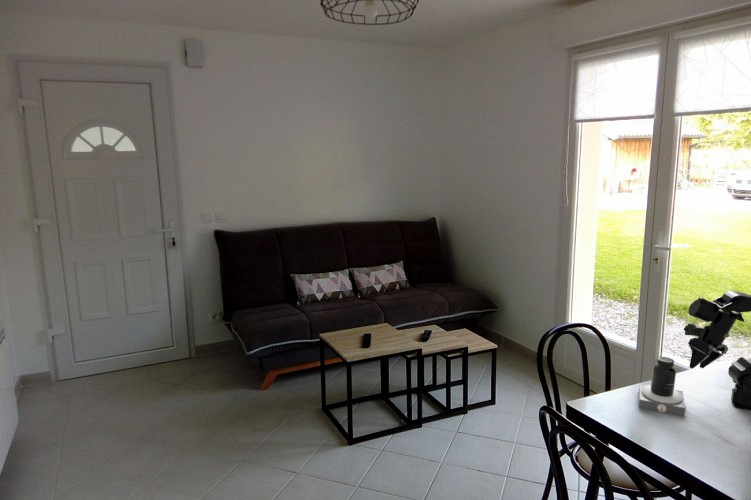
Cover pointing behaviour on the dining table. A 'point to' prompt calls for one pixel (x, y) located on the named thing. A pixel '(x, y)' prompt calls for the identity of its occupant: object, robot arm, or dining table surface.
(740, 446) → the dining table surface
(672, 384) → the supplement bottle
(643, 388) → the kitchen scale
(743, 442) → the dining table surface
